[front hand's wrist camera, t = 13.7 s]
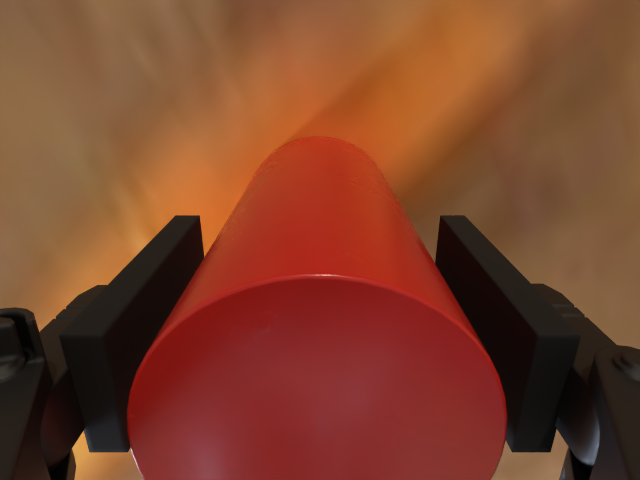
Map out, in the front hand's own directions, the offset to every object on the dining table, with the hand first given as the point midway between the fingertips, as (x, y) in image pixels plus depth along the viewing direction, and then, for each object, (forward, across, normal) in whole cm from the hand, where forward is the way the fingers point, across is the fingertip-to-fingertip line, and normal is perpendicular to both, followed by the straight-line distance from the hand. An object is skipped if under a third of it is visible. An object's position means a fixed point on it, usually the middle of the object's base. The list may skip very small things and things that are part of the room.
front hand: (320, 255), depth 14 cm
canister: (+5, 0, 0) cm, 5 cm away
